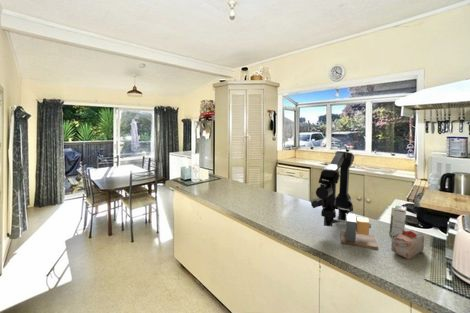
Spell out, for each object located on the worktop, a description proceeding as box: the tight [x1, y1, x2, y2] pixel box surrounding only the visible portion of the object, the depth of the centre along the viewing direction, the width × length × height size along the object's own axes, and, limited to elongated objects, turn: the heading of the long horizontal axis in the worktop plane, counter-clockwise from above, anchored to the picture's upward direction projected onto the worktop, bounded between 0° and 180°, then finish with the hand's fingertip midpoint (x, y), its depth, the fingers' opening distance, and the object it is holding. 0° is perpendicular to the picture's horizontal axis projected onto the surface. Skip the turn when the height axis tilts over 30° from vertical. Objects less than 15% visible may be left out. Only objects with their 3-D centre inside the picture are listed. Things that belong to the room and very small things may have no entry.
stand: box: [340, 213, 379, 250], centre depth 114 cm, size 12×15×11 cm
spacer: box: [355, 216, 370, 235], centre depth 113 cm, size 6×5×6 cm
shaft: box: [323, 217, 372, 229], centre depth 116 cm, size 4×20×4 cm, turn 68°
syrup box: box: [388, 204, 407, 237], centre depth 119 cm, size 6×6×14 cm
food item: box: [390, 229, 425, 260], centre depth 103 cm, size 14×8×10 cm, turn 121°
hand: (328, 224), depth 119 cm, fingers closed on shaft, 4 cm apart
